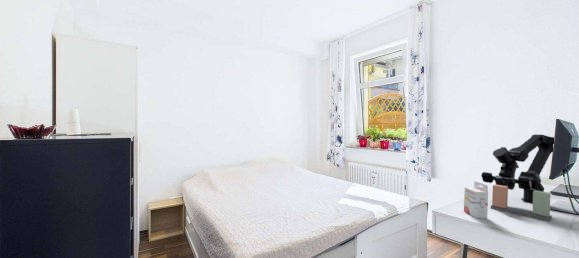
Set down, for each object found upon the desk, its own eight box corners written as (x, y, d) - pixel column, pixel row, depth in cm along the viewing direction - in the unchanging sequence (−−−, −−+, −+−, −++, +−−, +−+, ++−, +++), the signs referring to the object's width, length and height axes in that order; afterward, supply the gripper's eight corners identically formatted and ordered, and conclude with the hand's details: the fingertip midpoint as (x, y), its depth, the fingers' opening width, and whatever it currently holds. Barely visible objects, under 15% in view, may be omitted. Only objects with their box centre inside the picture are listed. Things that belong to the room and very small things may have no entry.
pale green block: (534, 211, 113) (535, 189, 113) (550, 214, 109) (550, 192, 109) (532, 213, 110) (533, 191, 110) (548, 216, 106) (549, 193, 106)
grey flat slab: (494, 205, 125) (494, 203, 125) (551, 218, 109) (551, 215, 109) (490, 208, 121) (490, 205, 121) (549, 221, 105) (549, 218, 105)
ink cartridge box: (463, 211, 116) (464, 180, 115) (473, 211, 116) (474, 180, 115) (476, 218, 107) (477, 185, 107) (488, 218, 107) (489, 185, 107)
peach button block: (494, 203, 123) (495, 184, 123) (507, 206, 119) (508, 186, 119) (492, 205, 121) (492, 185, 120) (505, 208, 117) (506, 187, 116)
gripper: (535, 182, 124) (529, 208, 117) (489, 175, 139) (481, 198, 132) (532, 168, 119) (526, 194, 112) (485, 163, 134) (477, 185, 128)
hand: (501, 193), depth 121 cm, fingers closed, pressing on peach button block
